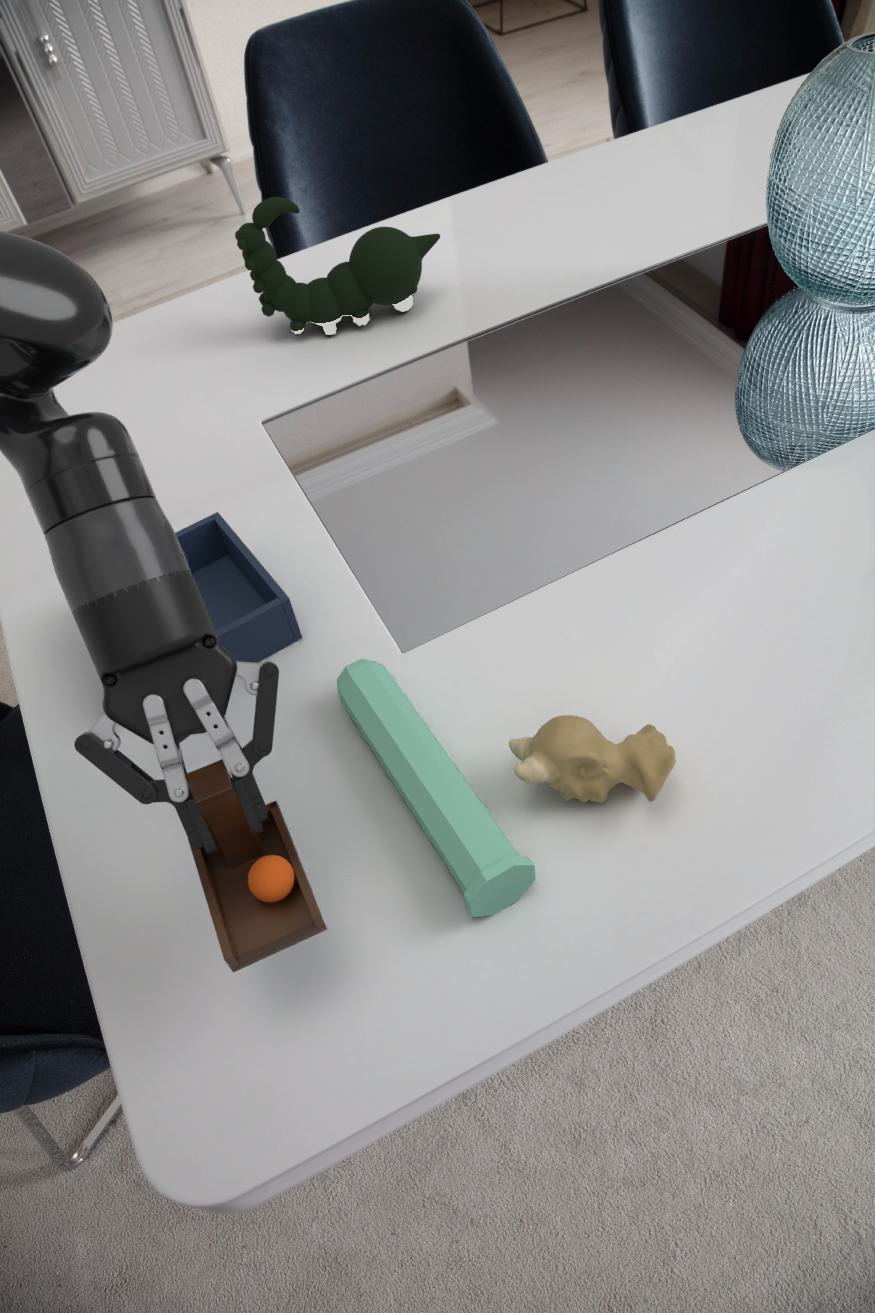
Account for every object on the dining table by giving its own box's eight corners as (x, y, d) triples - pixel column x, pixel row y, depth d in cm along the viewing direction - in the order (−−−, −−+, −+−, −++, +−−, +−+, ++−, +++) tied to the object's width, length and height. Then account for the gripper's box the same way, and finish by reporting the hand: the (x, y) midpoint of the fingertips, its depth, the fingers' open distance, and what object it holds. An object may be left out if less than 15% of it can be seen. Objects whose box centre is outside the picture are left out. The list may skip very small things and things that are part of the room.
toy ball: (257, 915, 59) (278, 879, 58) (231, 883, 60) (251, 847, 59) (290, 908, 61) (311, 874, 60) (264, 877, 63) (284, 843, 62)
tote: (154, 720, 84) (132, 682, 80) (95, 621, 93) (72, 582, 89) (302, 638, 89) (289, 597, 84) (232, 551, 98) (217, 511, 93)
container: (329, 651, 79) (479, 877, 64) (390, 641, 82) (547, 854, 67) (319, 702, 82) (459, 927, 67) (377, 691, 86) (524, 904, 70)
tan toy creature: (686, 775, 68) (527, 748, 67) (654, 844, 72) (503, 819, 71) (665, 708, 75) (521, 682, 73) (638, 774, 78) (500, 750, 77)
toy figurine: (281, 367, 123) (460, 310, 123) (229, 229, 108) (432, 164, 108) (272, 332, 129) (443, 277, 129) (221, 196, 114) (414, 135, 114)
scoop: (327, 930, 60) (297, 864, 53) (233, 973, 58) (190, 911, 52) (283, 815, 66) (251, 742, 59) (196, 852, 64) (153, 782, 58)
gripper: (3, 626, 52) (123, 903, 54) (237, 541, 55) (344, 807, 57) (31, 628, 60) (136, 871, 61) (236, 552, 62) (331, 787, 64)
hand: (235, 839), depth 59 cm, fingers closed on scoop, 2 cm apart
